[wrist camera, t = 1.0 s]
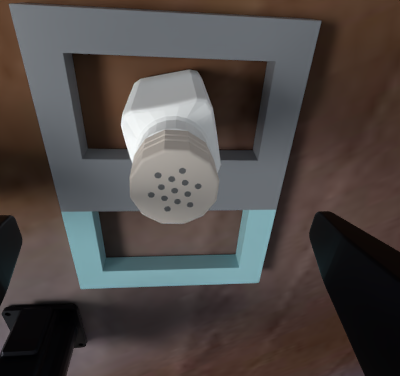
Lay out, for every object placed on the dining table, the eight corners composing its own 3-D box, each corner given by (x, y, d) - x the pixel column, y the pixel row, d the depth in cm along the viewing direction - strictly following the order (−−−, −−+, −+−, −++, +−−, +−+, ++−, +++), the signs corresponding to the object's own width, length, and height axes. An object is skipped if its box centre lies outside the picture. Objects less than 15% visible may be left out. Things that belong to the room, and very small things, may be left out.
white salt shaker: (199, 65, 17) (224, 127, 9) (209, 129, 19) (236, 223, 12) (131, 78, 17) (99, 150, 9) (148, 140, 20) (135, 241, 12)
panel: (254, 269, 27) (258, 282, 26) (85, 274, 26) (80, 289, 25) (310, 18, 16) (321, 21, 15) (22, 2, 15) (8, 3, 14)
